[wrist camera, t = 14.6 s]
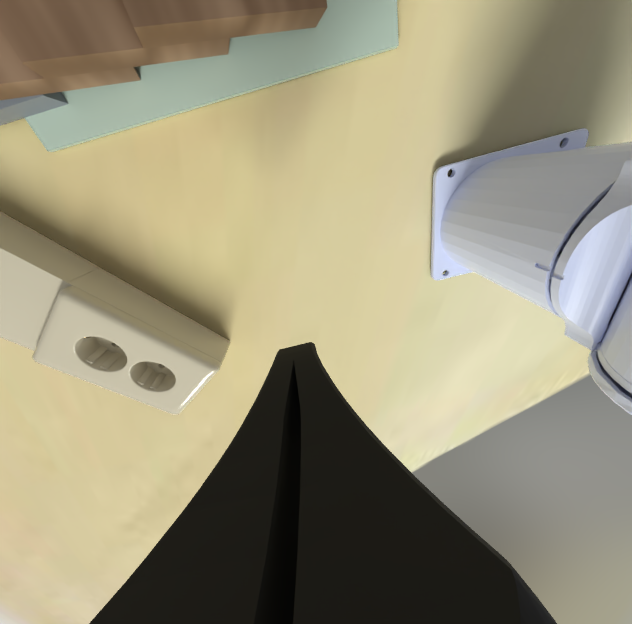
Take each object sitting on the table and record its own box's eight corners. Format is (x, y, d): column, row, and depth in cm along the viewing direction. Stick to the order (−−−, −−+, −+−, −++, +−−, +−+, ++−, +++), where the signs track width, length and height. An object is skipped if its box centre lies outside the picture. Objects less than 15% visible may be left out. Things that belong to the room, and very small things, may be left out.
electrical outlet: (-127, 199, 11) (219, 371, 18) (-23, 193, 14) (232, 339, 21) (-129, 302, 13) (176, 418, 20) (-40, 276, 17) (194, 383, 24)
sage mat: (386, -217, 9) (389, -229, 8) (396, 48, 12) (398, 44, 12) (-82, -45, 10) (-93, -51, 9) (52, 151, 13) (47, 151, 13)
